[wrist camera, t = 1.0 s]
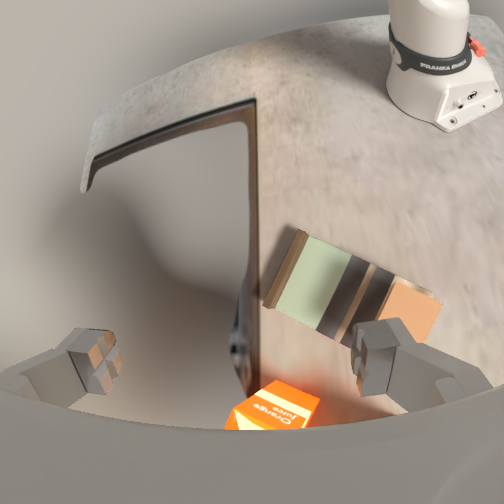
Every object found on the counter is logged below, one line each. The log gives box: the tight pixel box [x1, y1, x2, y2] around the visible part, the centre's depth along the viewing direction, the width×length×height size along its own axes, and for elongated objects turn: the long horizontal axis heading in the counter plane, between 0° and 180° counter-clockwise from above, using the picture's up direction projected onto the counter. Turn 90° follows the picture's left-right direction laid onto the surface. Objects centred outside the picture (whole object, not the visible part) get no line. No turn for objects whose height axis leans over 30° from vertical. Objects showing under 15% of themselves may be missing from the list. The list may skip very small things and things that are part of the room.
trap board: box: [262, 229, 435, 349], centre depth 41 cm, size 22×12×4 cm, turn 63°
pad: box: [275, 236, 352, 330], centre depth 45 cm, size 7×12×1 cm, turn 153°
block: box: [376, 281, 442, 344], centre depth 34 cm, size 6×9×10 cm, turn 153°
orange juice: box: [225, 380, 320, 430], centre depth 34 cm, size 8×9×20 cm
